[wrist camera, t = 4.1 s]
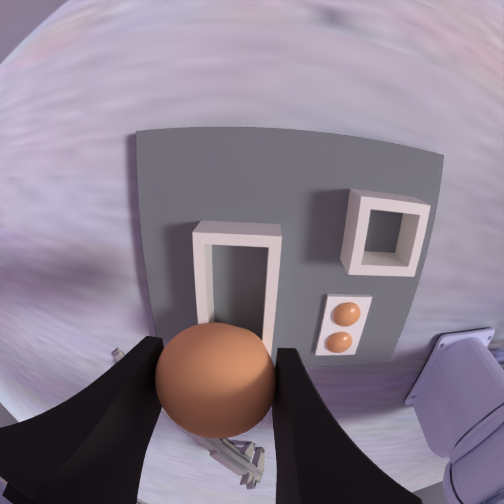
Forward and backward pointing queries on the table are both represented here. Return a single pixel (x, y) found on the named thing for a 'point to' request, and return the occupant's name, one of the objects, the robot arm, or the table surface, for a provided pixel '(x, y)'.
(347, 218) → the tube
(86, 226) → the table surface
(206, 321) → the hollow rectangular frame
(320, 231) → the mat
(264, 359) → the ball
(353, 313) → the card
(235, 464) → the caliper
